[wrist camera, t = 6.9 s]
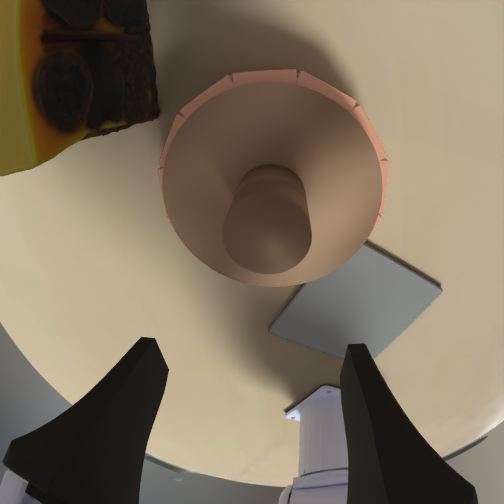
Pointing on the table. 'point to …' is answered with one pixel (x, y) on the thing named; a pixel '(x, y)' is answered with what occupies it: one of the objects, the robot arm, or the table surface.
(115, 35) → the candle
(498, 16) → the table surface
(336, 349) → the mat
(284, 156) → the lid
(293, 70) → the bowl
